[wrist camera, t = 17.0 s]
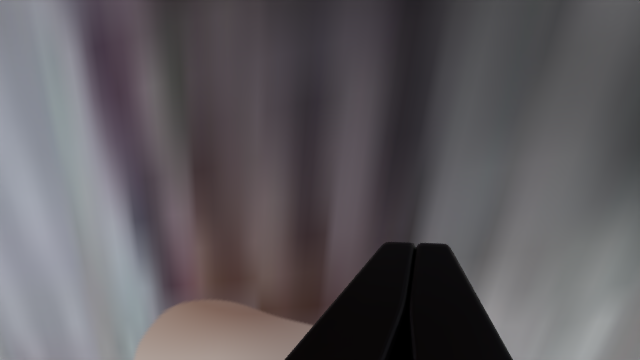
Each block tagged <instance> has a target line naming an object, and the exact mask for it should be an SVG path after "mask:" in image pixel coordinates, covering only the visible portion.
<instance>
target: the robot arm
mask: <svg viewBox="0 0 640 360" xmlns="http://www.w3.org/2000/svg"><path fill="white" fill-rule="evenodd" d="M285 360H513V359H512V357H511V356H510V354H509V352H508V350H507V348H506V347H505V345H504V343H503V341H502V339H501V338H500V336H499V334H498V332H497V330H496V329H495V327H494V325H493V323H492V321H491V320H490V318H489V316H488V314H487V313H486V311H485V309H484V307H483V305H482V304H481V302H480V300H479V298H478V296H477V295H476V293H475V291H474V289H473V287H472V286H471V284H470V282H469V280H468V278H467V277H466V275H465V273H464V271H463V269H462V268H461V266H460V264H459V262H458V260H457V259H456V257H455V255H454V253H453V251H452V250H451V248H450V247H449V246H448V245H447V244H436V243H420V244H418V246H417V247H415V245H414V244H413V243H405V242H386V243H384V244H383V245H382V246H381V247H380V248H379V249H378V251H377V252H376V253H375V254H374V255H373V256H372V258H371V259H370V260H369V261H368V262H367V264H366V265H365V266H364V267H363V268H362V269H361V271H360V272H359V273H358V274H357V275H356V276H355V278H354V279H353V280H352V281H351V282H350V283H349V285H348V286H347V287H346V288H345V289H344V291H343V292H342V293H341V294H340V295H339V296H338V298H337V299H336V300H335V301H334V302H333V303H332V305H331V306H330V307H329V308H328V309H327V311H326V312H325V313H324V314H323V315H322V316H321V318H320V319H319V320H318V321H317V322H316V323H315V325H314V326H313V327H312V328H311V329H310V331H309V332H308V333H307V334H306V335H305V336H304V338H303V339H302V340H301V341H300V342H299V343H298V345H297V346H296V347H295V348H294V350H292V352H291V353H290V354H289V355H288V357H287V358H286V359H285Z"/></svg>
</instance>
